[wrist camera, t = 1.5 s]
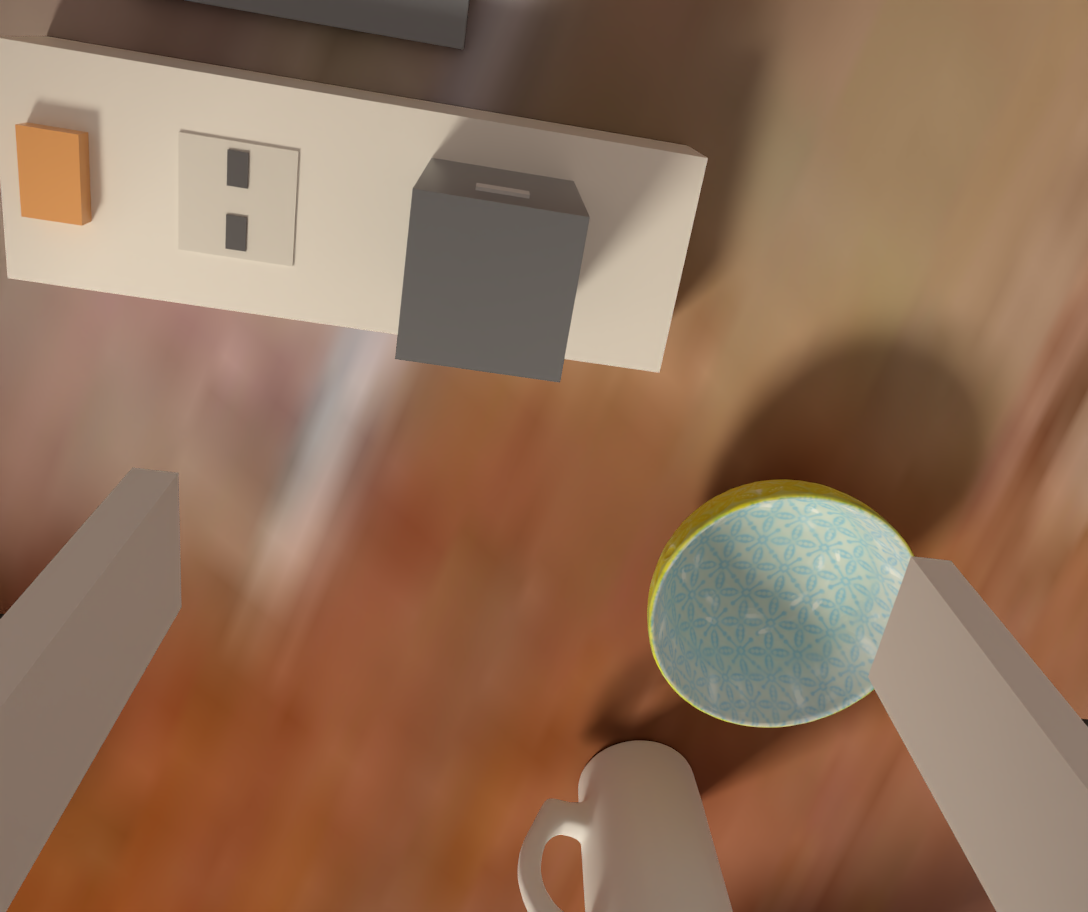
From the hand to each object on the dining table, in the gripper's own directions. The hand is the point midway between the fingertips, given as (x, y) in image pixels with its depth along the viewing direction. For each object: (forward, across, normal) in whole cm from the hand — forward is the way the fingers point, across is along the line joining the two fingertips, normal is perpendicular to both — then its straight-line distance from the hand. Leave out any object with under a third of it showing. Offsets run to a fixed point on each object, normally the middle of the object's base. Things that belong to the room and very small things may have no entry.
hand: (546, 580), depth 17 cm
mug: (+23, +8, -26) cm, 36 cm away
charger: (+21, -2, +2) cm, 21 cm away
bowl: (+24, +12, -11) cm, 29 cm away
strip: (+23, -10, +2) cm, 25 cm away
